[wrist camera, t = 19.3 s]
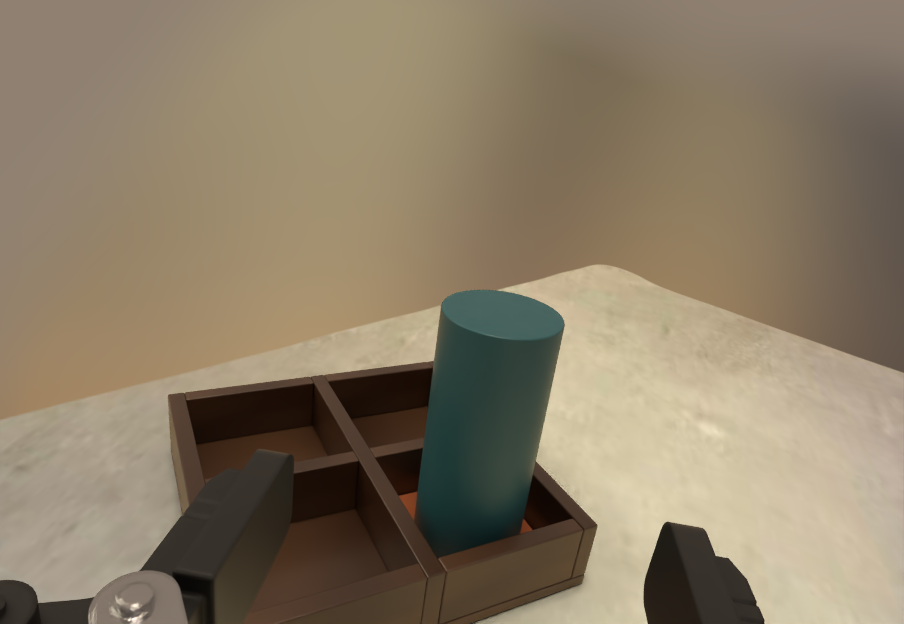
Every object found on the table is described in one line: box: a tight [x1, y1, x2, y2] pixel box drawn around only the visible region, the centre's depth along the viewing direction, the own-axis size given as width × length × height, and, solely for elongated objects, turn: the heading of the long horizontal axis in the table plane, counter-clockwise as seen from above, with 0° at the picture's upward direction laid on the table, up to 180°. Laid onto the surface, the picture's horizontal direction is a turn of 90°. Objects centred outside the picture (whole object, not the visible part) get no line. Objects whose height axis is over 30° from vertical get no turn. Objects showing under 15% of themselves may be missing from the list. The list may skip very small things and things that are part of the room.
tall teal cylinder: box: [414, 290, 565, 559], centre depth 24 cm, size 4×4×10 cm
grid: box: [168, 361, 597, 624], centre depth 27 cm, size 14×14×3 cm
